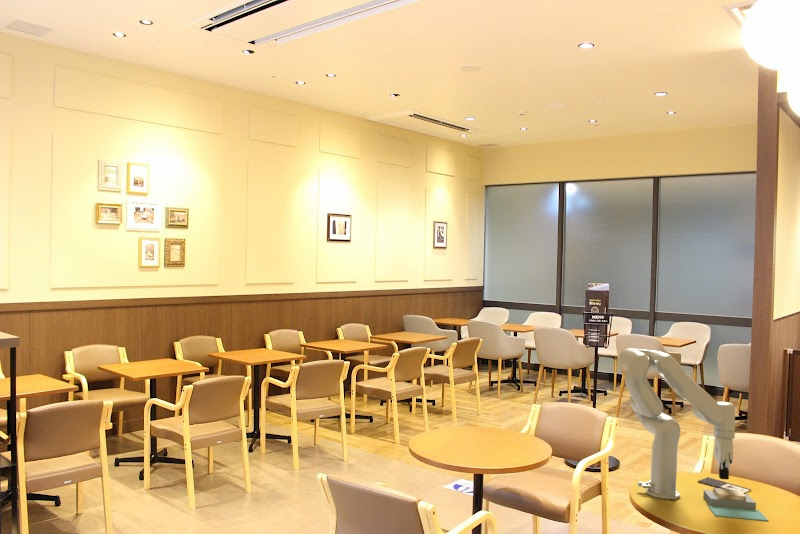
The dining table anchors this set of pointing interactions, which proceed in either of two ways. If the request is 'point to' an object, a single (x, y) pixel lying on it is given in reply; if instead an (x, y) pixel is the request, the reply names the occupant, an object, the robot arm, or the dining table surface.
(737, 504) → the gray block
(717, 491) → the brass tile
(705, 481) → the chocolate bar
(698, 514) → the dining table surface
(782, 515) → the dining table surface
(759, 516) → the teal mat
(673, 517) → the dining table surface
